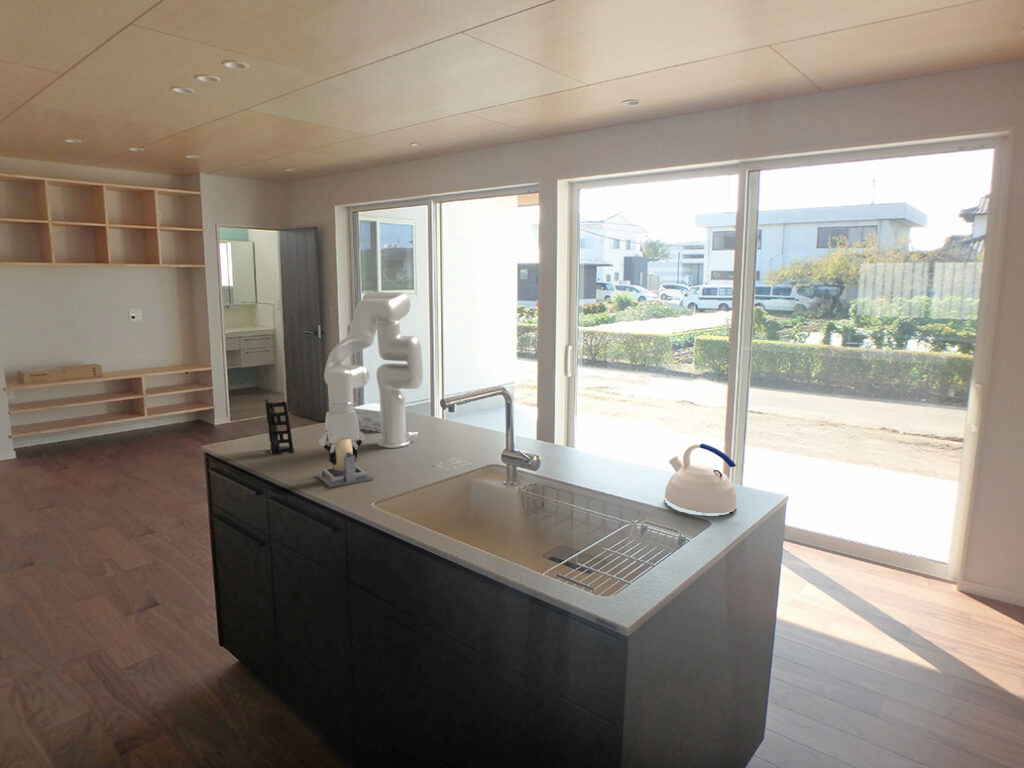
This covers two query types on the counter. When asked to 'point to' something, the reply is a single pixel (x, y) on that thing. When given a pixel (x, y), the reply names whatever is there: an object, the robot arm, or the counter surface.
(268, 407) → the holder
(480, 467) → the counter surface
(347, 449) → the paper roll
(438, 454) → the counter surface
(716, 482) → the kettle
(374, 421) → the supplement box
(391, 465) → the counter surface
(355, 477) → the stand
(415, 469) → the counter surface
